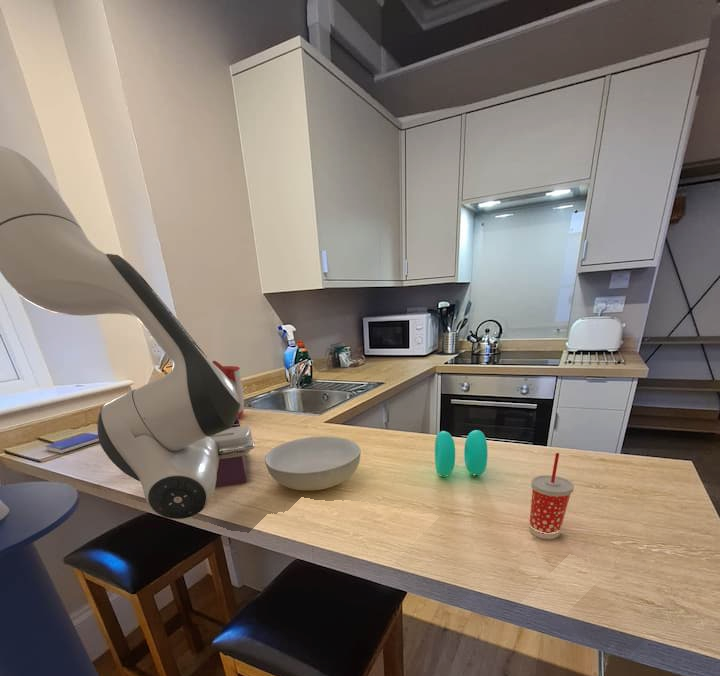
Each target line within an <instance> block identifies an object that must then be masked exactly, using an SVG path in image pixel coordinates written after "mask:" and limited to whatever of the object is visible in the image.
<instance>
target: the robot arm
mask: <svg viewBox="0 0 720 676" xmlns="http://www.w3.org/2000/svg"><path fill="white" fill-rule="evenodd" d="M0 274H1V275H2V276H3V278H4V279H5V280H6V282H7V283H8V285H10V287H11V288H12V289H13V290H14V291H15V292H16V293H17V294H18V296H20V297H22V298H23V299H24V300H26V301H27V302H29V303H31V304H33V305H34V306H36V307H38V308H40V309H43V310H46V311H49V312H52V313H55V314H62V315H68V316H83V317H84V316H94V315H95V316H96V315H108V314H109V315H116V314H117V315H119V314H120V315H126V316H127V315H128V316H131V317H135V318H136V319H137V320H138V321H139V322H140V324H141V325H142V326H143V327H144V329H145V330H146V332H147V333H148V334H149V335H150V336H151V337H152V339H153V340H154V341H155V342H156V343H157V345H158V346H159V347H160V348H161V349H162V351H163V352H164V353H165V355H166V356H167V357H168V358H169V359H170V361H171V363H172V368H171V370H170V371H169V372H167V373H166V374H164V375H162V376H160V377H158V378H155V379H154V380H153V381H149V382H148V383H146V384H144V385H142V386H140V387H138V388H134V389H132V390H130V391H129V392H126V393H124V394H122V395H120V396H119V397H116V398H114V399H113V400H111V401H109V402H107V403H104V404H103V405H101V406H100V409H99V411H98V416H97V421H96V422H97V424H96V425H97V427H96V428H97V435H98V439H99V441H98V442H99V444H100V447H101V449H102V450H103V452H104V453H105V454H106V456H107V458H108V459H109V460H110V461H111V462H112V464H114V465H115V466H116V467H117V468H118V469H119V470H120V471H121V472H122V473H124V474H125V475H127V476H128V477H130V478H132V479H134V480H136V481H138V482H140V483H141V487H142V490H143V494H144V498H145V501H146V503H147V505H148V506H149V508H150V509H151V510H152V511H153V512H154V513H156V514H157V515H159V516H161V517H162V518H163V517H164V518H167V519H172V520H182V519H183V520H184V519H188V518H191V517H194V516H197V515H198V514H199V513H201V512H202V511H203V510H204V509H205V508H206V507H207V506H208V505H209V503H210V502H211V501H212V498H213V496H214V493H215V489H216V487H215V486H216V479H217V470H218V464H219V459H224V458H232V457H239V456H243V455H246V456H247V455H248V454H249V453H250V452H251V451H252V450H254V449H255V441H254V440H253V435H252V429H251V427H250V426H247V425H240V427H232V426H233V424H234V422H235V420H236V418H237V415H238V412H239V409H240V404H241V403H240V401H239V397H238V394H237V392H236V390H235V388H234V386H233V384H232V383H231V382H230V380H229V379H228V378H227V376H226V375H225V374H224V373H223V372H222V371H221V370H220V369H219V368H218V367H217V366H216V365H214V364H213V363H212V362H213V361H211V360H210V359H209V358H208V356H207V355H206V354H205V353H204V352H203V350H202V349H201V347H200V346H199V345H198V343H197V342H196V341H195V340H194V339H193V338H192V336H191V335H190V334H189V333H188V331H187V330H186V329H185V327H184V326H183V325H182V323H180V321H179V320H178V319H177V318H176V316H175V315H174V314H173V313H172V311H171V310H170V308H168V306H167V304H165V302H164V301H163V300H162V299H161V297H160V296H159V295H158V294H157V292H156V291H155V290H154V289H153V287H152V286H151V285H150V284H149V283H148V282H147V281H146V279H145V278H144V277H143V275H141V274H140V273H139V272H138V271H137V269H135V267H133V266H132V265H131V264H130V263H129V261H127V260H126V259H125V258H123V257H122V256H121V255H118V254H113V253H105V252H103V251H102V250H100V249H98V247H96V246H95V245H94V244H93V243H92V242H91V241H90V240H89V238H88V237H87V235H86V233H85V232H84V230H83V228H82V227H81V225H80V223H79V221H78V220H77V219H76V217H75V215H74V214H73V212H72V211H71V210H70V208H69V206H68V205H67V203H66V202H65V201H64V200H63V197H61V195H60V194H59V192H58V191H57V190H56V189H55V186H53V184H52V183H51V182H50V181H49V180H48V178H47V177H46V175H44V173H43V172H42V171H41V170H40V168H39V167H38V166H36V165H35V164H34V163H33V162H32V160H30V159H29V158H27V157H26V156H25V155H23V154H21V153H20V152H18V151H15V150H13V149H12V148H9V147H7V146H6V147H5V146H1V145H0ZM8 513H9V508H8V507H7V506H6V505H5V504H4V503H3V502H2V501H1V500H0V520H2V519H3V518H4V517H5V516H6V515H7V514H8Z"/></svg>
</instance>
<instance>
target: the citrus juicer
mask: <svg viewBox="0 0 720 676" xmlns="http://www.w3.org/2000/svg"><path fill="white" fill-rule="evenodd" d="M211 362H212V363H213V364H214V365H216V366H217V367H218V368H219V369H220V370H221V371H222V372H223V373H224V374H225V375H226V376H227V378H228V379H229V380H230V382H231V383H232V384H233V386H234V388H235V390H236V392H237V394H238V397H239V401H240V403H241V404H240V409H239V412H238V415H237V416H238V419H239V420H240V419H241V418H242V417H243V416H244V407H245V395H244V388H243V382H242V377H241V371H240V369H241V367H239V366H236V365H222V364H221V363H219V362H218V361H217V360H212V361H211Z"/></svg>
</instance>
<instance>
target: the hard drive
mask: <svg viewBox="0 0 720 676" xmlns="http://www.w3.org/2000/svg"><path fill="white" fill-rule="evenodd" d="M97 442H99V439H98V434H95V433H90V432H87V433H84V434H80V435H77V436H74V437H70V438H67V439H64V440H60V441H56V442H53V443H50V444H47V445H45V448H46V450H47V451H48V452H49V451H50V452H54V453H59V454H64V453H67V452H70V451H73V450H76V449H79V448H82V447H85V446H88V445H91V444H94V443H97Z"/></svg>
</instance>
